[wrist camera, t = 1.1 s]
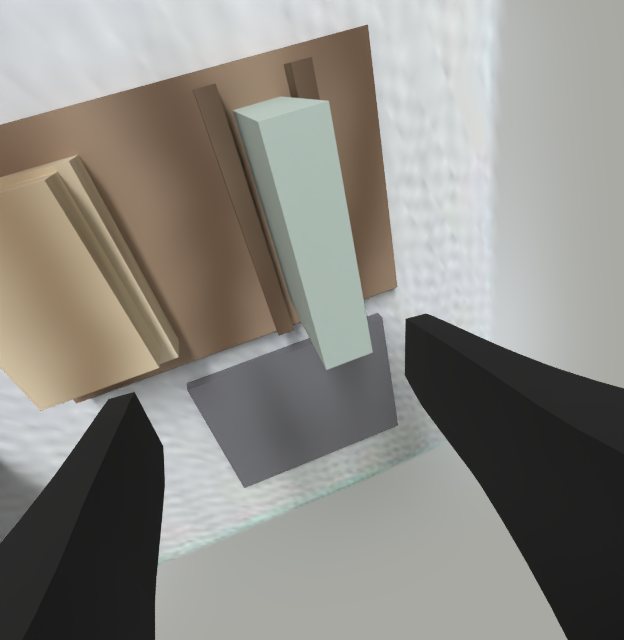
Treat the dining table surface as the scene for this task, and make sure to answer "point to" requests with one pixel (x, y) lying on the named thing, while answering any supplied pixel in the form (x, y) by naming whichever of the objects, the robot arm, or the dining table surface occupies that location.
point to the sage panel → (308, 220)
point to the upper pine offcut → (63, 300)
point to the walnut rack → (217, 184)
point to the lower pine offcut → (108, 245)
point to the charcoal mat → (296, 406)
